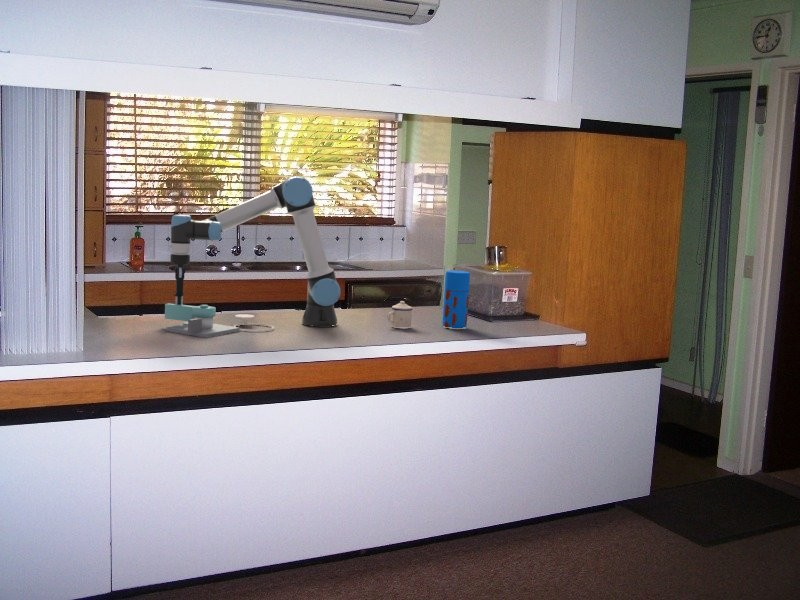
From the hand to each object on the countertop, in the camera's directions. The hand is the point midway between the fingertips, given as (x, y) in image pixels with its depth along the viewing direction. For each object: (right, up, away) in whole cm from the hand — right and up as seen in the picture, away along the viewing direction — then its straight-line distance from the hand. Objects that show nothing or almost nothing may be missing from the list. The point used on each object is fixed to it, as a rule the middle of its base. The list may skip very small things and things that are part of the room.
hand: (178, 312), depth 345 cm
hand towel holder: (+28, -7, +8) cm, 30 cm away
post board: (+11, -8, -7) cm, 15 cm away
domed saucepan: (+6, -3, -4) cm, 8 cm away
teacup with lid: (+88, -7, +28) cm, 93 cm away
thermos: (+113, -8, +36) cm, 119 cm away
